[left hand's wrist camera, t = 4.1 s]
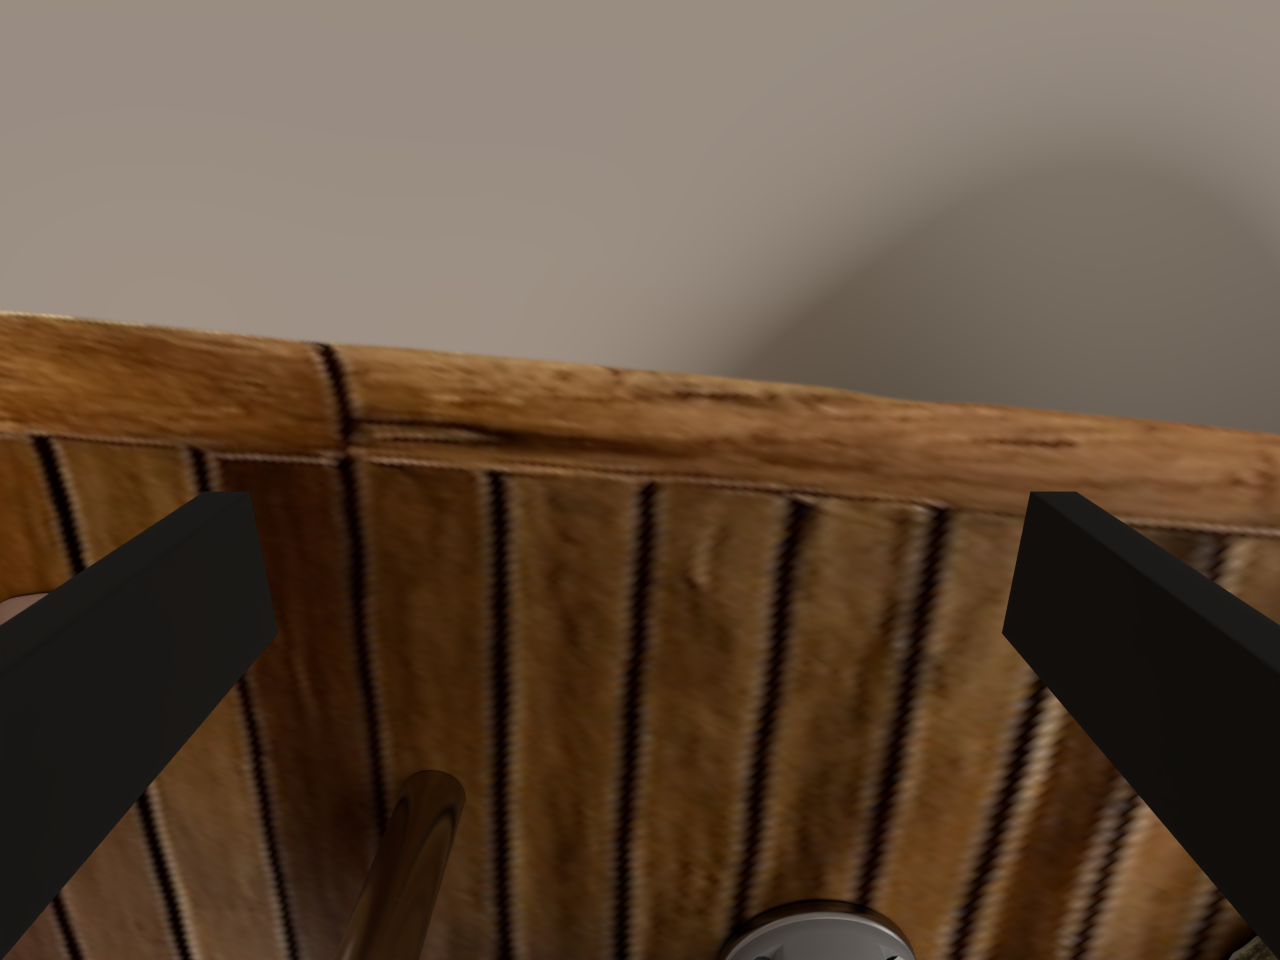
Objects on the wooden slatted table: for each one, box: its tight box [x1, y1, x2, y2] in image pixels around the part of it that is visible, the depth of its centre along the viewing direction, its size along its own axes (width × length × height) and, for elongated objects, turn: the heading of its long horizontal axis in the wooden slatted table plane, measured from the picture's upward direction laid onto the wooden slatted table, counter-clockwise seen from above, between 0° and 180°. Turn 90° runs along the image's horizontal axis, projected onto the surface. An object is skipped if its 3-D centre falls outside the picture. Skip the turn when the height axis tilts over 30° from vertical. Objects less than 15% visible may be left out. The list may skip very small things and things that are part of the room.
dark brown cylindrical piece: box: [333, 771, 465, 960], centre depth 42 cm, size 4×4×17 cm
